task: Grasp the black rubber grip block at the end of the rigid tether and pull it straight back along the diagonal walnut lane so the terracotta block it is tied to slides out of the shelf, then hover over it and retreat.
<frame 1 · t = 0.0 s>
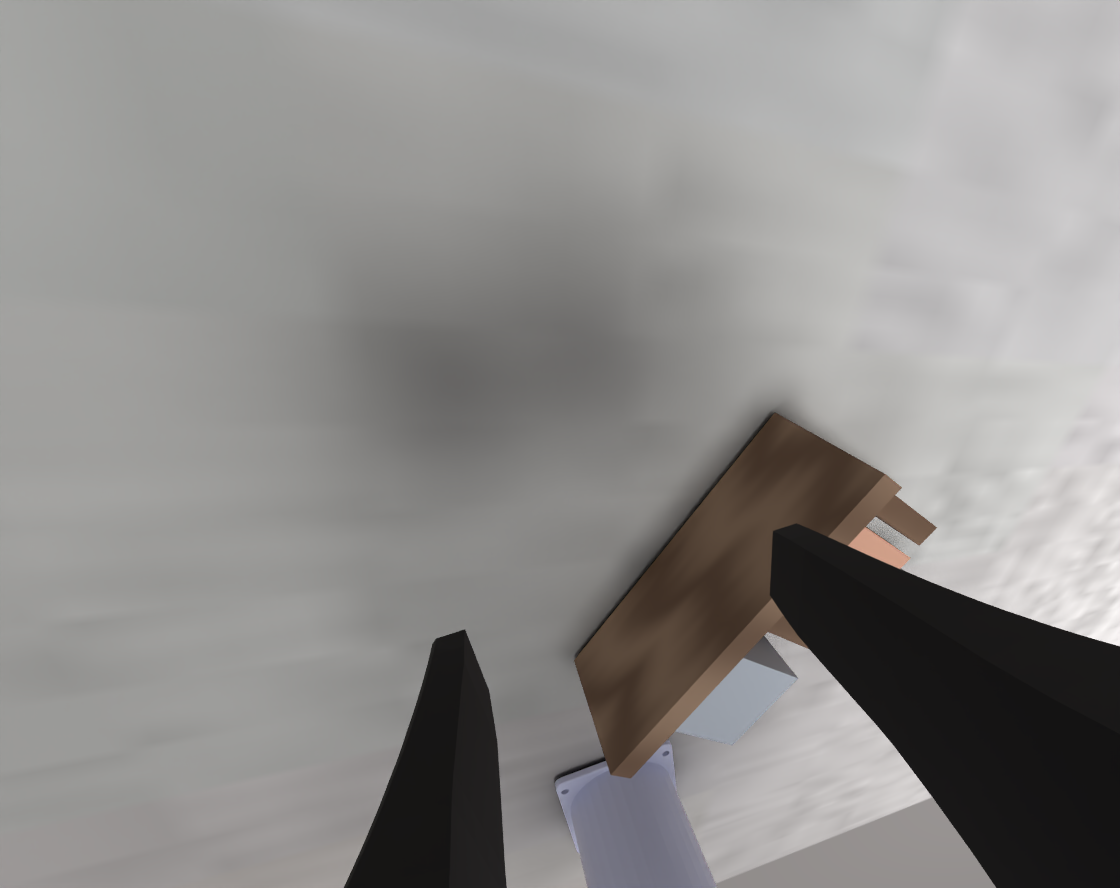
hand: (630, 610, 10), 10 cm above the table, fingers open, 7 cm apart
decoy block: (682, 623, 26), resting in shelf lanes
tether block: (767, 517, 24), on the table
shelf lanes: (738, 581, 26), on the table
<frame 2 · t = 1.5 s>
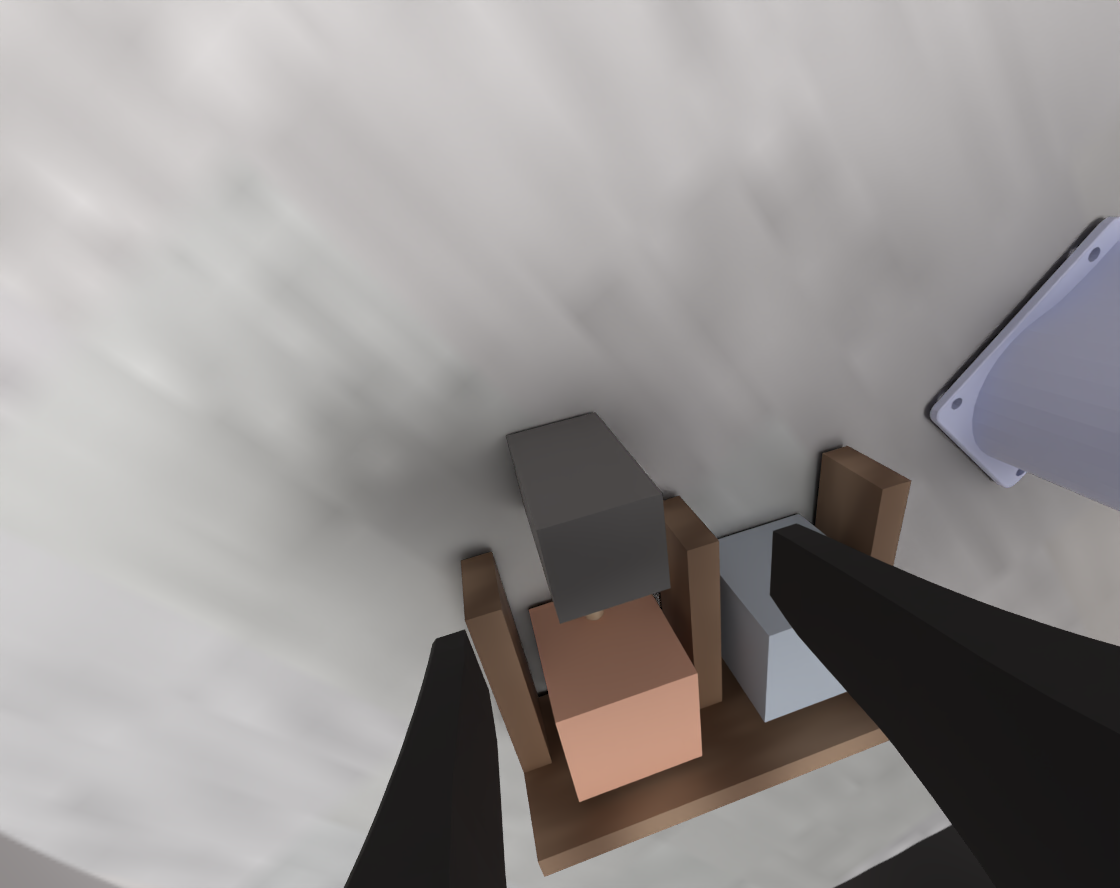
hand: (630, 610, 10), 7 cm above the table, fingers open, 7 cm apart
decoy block: (748, 571, 22), resting in shelf lanes
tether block: (593, 631, 21), on the table
shelf lanes: (672, 582, 21), on the table
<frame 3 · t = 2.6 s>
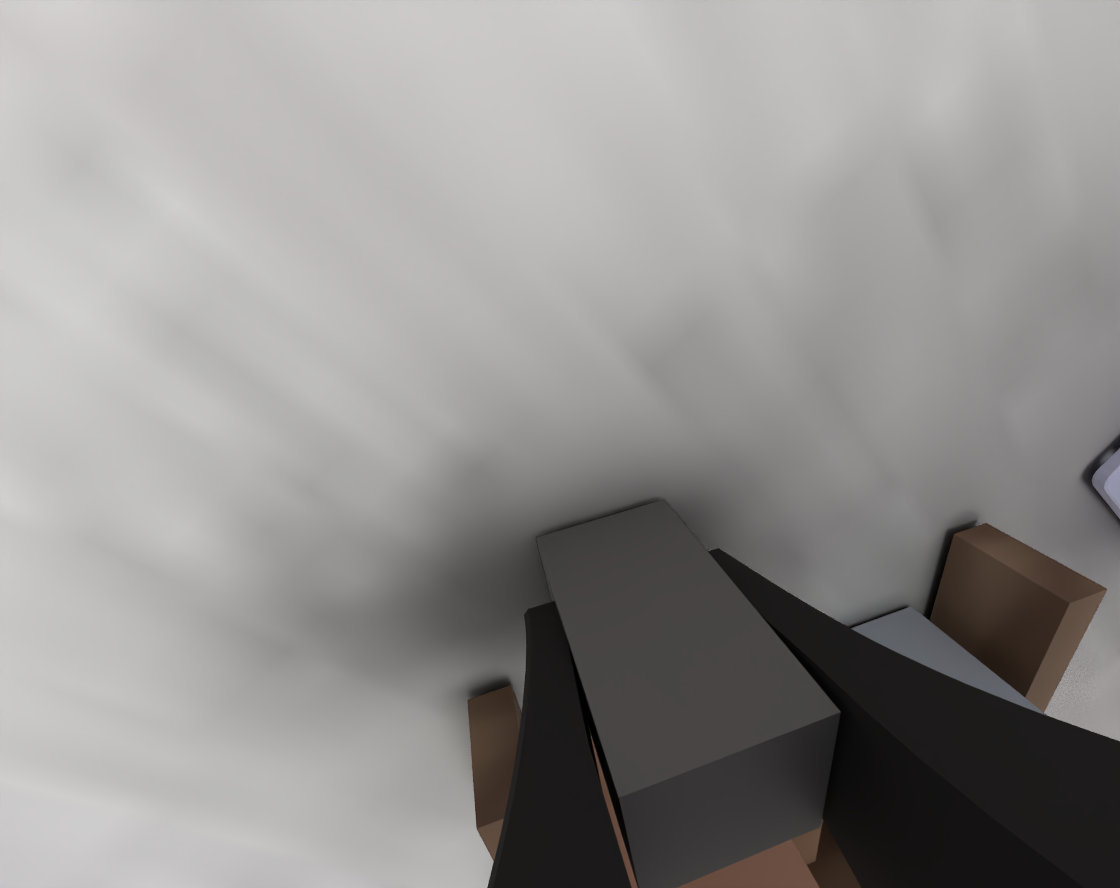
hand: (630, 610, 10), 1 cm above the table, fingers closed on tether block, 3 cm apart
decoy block: (839, 677, 17), resting in shelf lanes
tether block: (642, 764, 16), on the table, touching gripper
shelf lanes: (746, 699, 16), on the table
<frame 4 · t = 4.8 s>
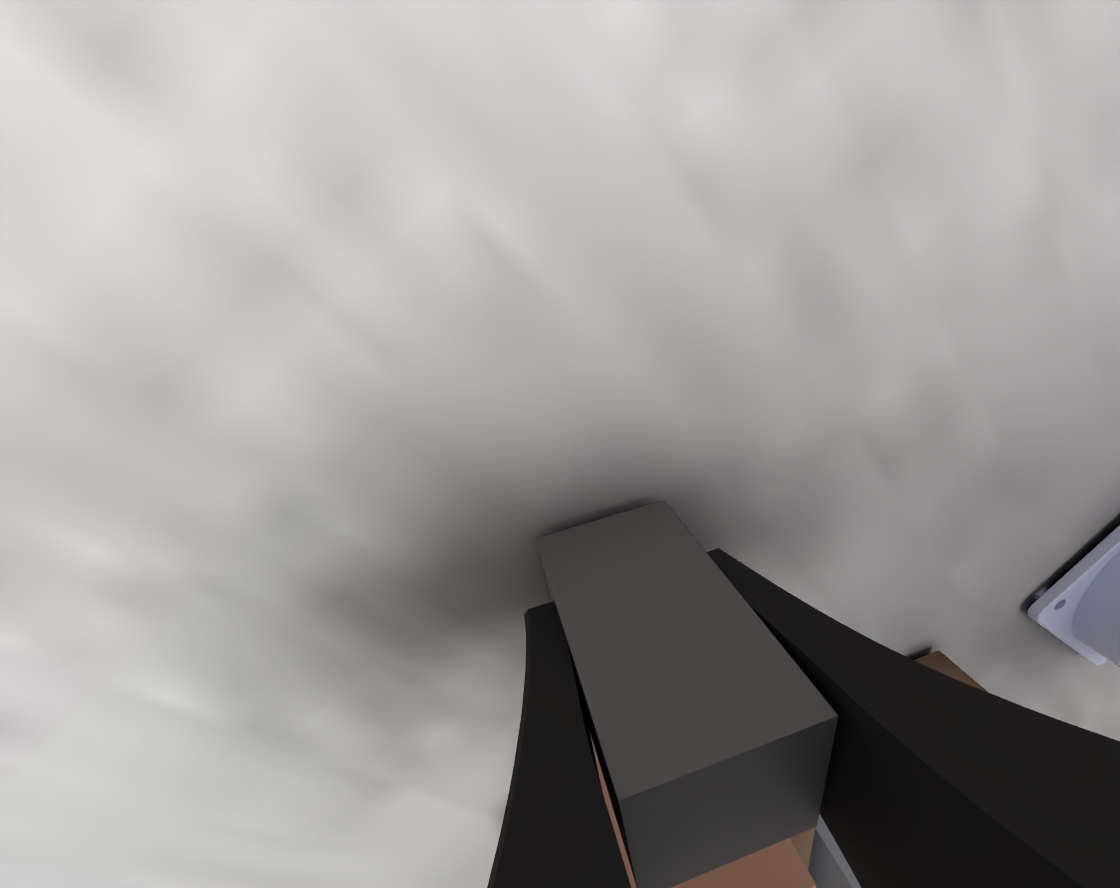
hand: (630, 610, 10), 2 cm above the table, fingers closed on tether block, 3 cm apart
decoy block: (820, 767, 20), resting in shelf lanes
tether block: (640, 759, 16), on the table, touching gripper
shelf lanes: (741, 790, 19), on the table
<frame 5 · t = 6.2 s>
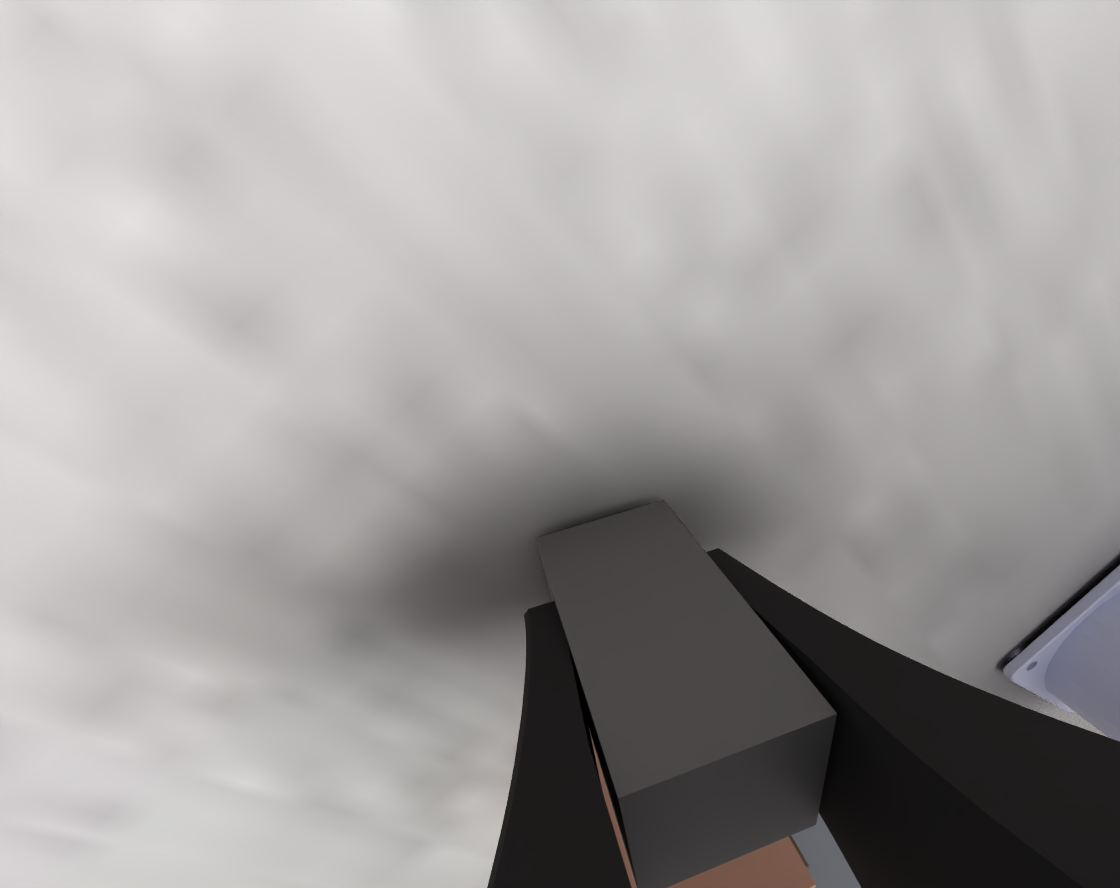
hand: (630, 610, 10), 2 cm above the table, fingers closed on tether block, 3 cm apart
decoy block: (813, 809, 21), resting in shelf lanes
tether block: (640, 760, 16), on the table, touching gripper
when the fingers open (2 cm above the table, at t = 6.8 s): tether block stays where it is, on the table.
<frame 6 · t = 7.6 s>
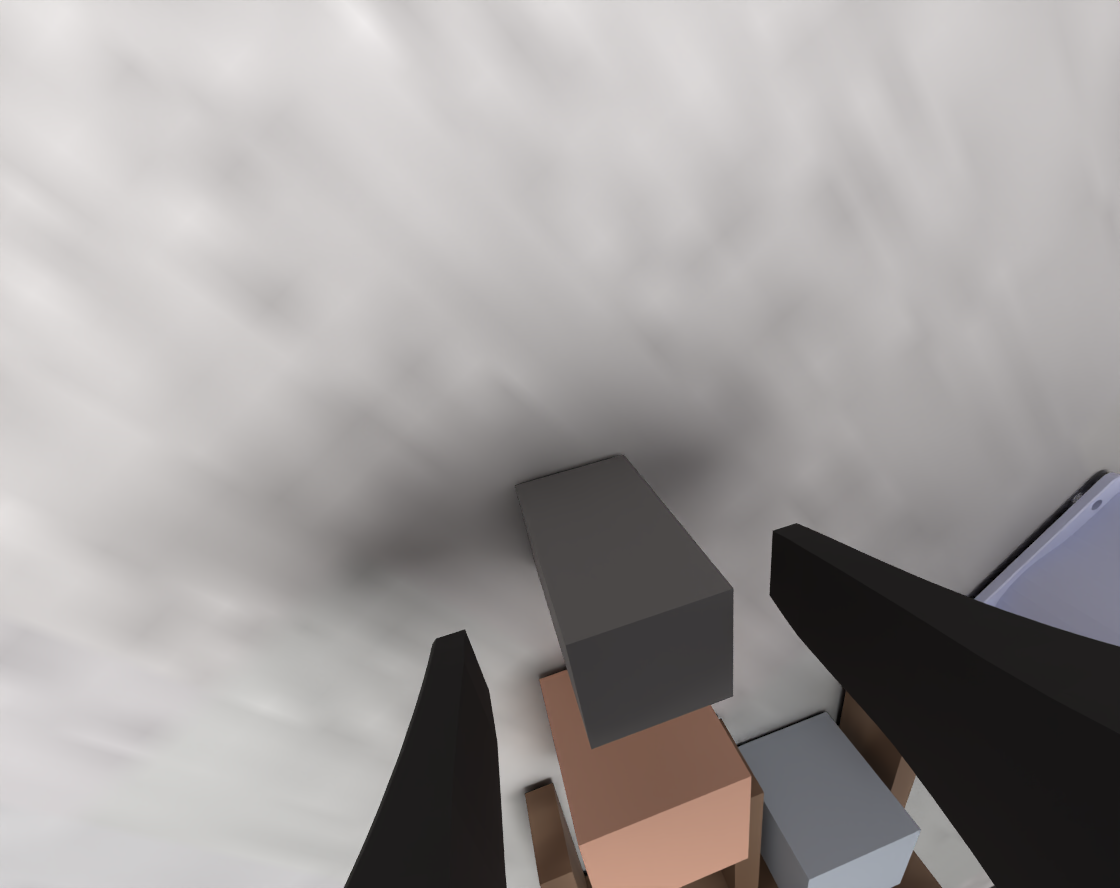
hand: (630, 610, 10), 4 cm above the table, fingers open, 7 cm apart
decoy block: (778, 758, 23), resting in shelf lanes
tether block: (613, 698, 18), on the table
shelf lanes: (710, 778, 22), on the table
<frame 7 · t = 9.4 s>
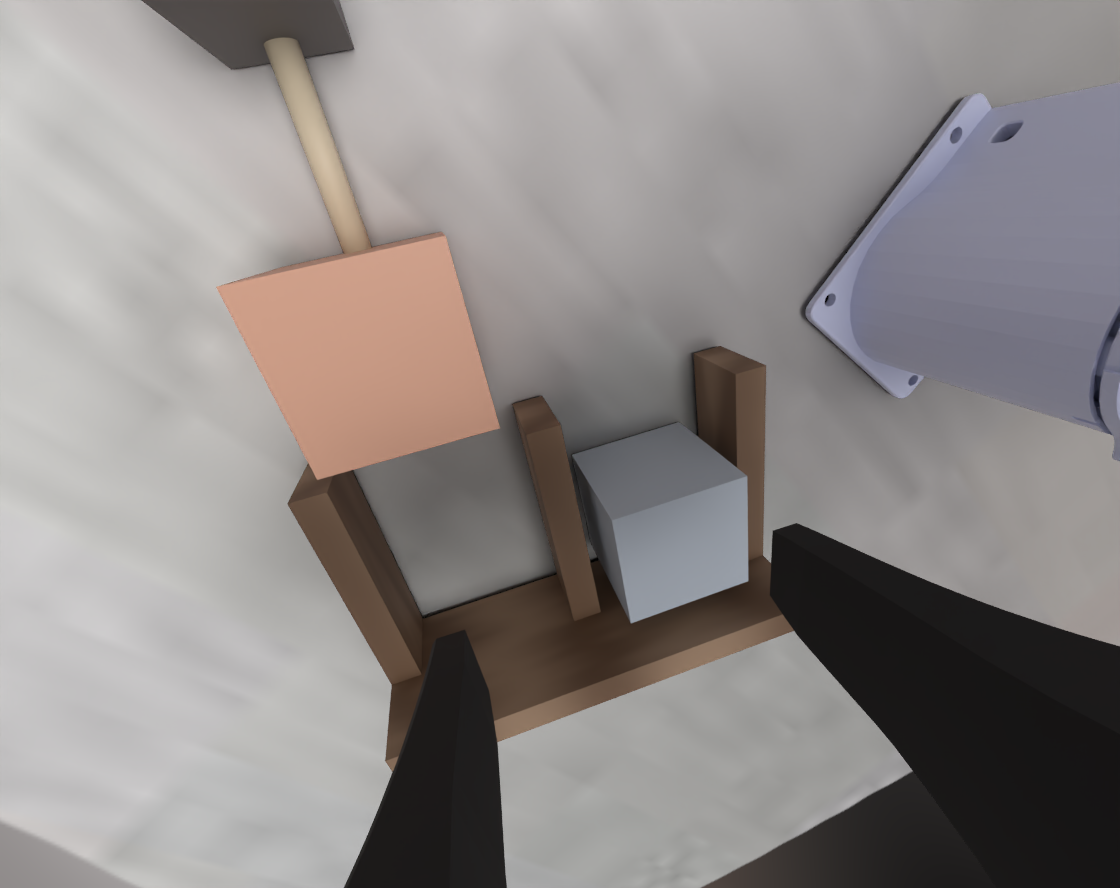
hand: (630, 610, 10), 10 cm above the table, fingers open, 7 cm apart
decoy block: (633, 485, 21), resting in shelf lanes
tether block: (391, 326, 16), on the table
shelf lanes: (550, 493, 20), on the table
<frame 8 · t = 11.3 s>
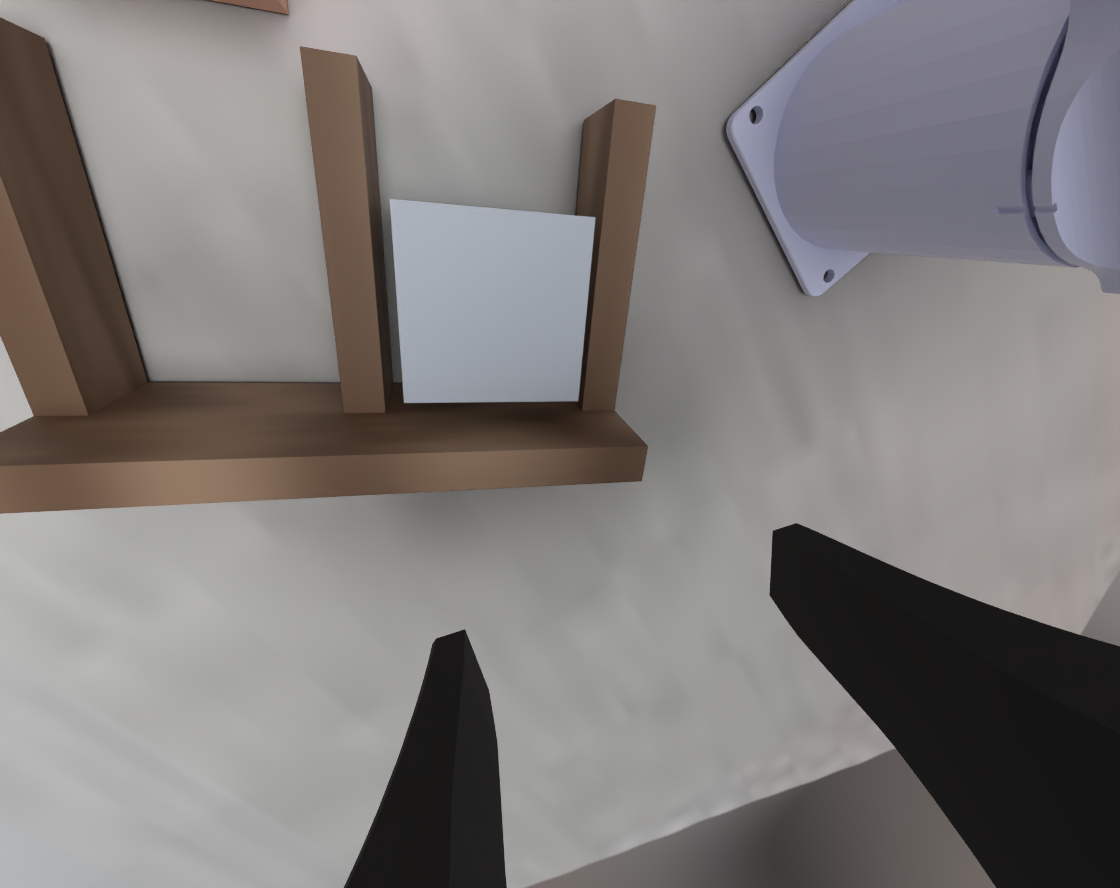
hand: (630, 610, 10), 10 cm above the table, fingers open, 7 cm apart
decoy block: (480, 289, 17), resting in shelf lanes
shelf lanes: (364, 252, 15), on the table
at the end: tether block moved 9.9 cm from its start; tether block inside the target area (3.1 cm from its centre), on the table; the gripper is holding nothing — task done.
